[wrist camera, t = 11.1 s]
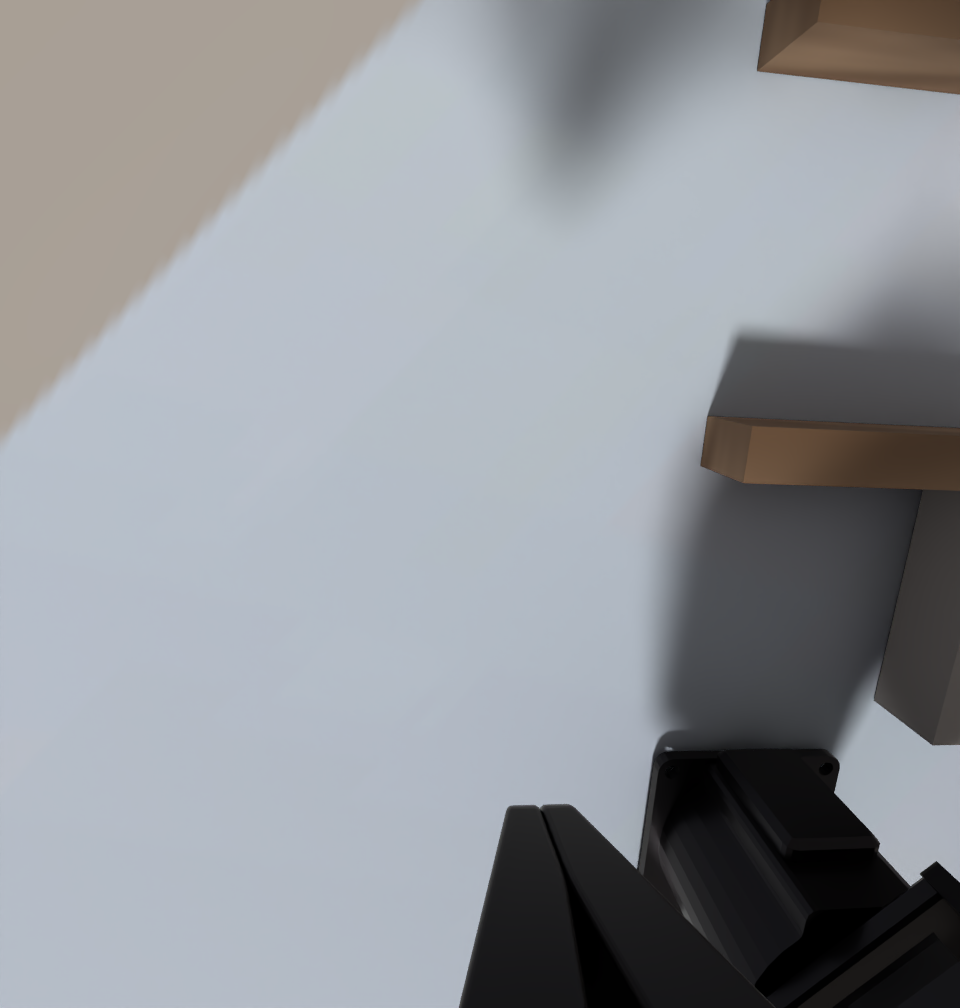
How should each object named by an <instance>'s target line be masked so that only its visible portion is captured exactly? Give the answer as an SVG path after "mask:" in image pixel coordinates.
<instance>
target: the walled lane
mask: <svg viewBox="0 0 960 1008" xmlns="http://www.w3.org/2000/svg"><path fill="white" fill-rule="evenodd" d="M757 71H760V72H769V73H778V74H787V75H795V76H804V77H813V78H821V79H830V80H839V81H848V82H856V83H865V84H874V85H882V86H891V87H900V88H909V89H917V90H926V91H935V92H943V93H952V94H960V0H771V1H770V2H769V3H768V4H767V6H766V13H765V20H764V27H763V34H762V41H761V48H760V55H759V62H758V69H757ZM701 466H702V467H705V468H707V469H710V470H712V471H714V472H717V473H719V474H722V475H724V476H727V477H729V478H732V479H734V480H737V481H739V482H742V483H752V484H780V485H809V486H838V487H866V488H895V489H923V490H952V491H960V428H947V427H926V426H905V425H884V424H863V423H842V422H821V421H800V420H779V419H758V418H737V417H716V416H708V418H707V425H706V432H705V439H704V446H703V453H702V460H701Z"/></svg>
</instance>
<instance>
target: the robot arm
mask: <svg viewBox="0 0 960 1008" xmlns="http://www.w3.org/2000/svg"><path fill="white" fill-rule="evenodd" d="M822 764H824V765H823V766H821V765H822ZM673 765H674V768H672V769H671V770H668V771H666V769H667V768H668V767H669V766H673ZM820 766H821V767H820ZM839 769H840V764H839V762H838V760H837V759H836V758H835V757H834V756H833V755H832V754H831V753H830V752H829V751H827V750H825V749H735V750H724V751H669V752H664V753H662V754H661V755H659V756H658V757H657V758H656V760H655V762H654V765H653V772H652V780H651V787H650V794H649V801H648V808H647V815H646V822H645V829H644V836H643V843H642V850H641V857H640V865H639V871H638V870H637V869H636V868H635V867H634V866H633V865H632V864H631V863H630V862H629V861H628V860H627V859H626V858H625V857H624V856H623V855H622V854H621V853H620V852H619V851H618V850H617V849H616V848H615V847H614V846H613V845H612V844H611V843H610V842H609V841H608V840H607V839H606V838H605V837H604V836H603V835H602V834H601V833H600V832H599V831H598V830H597V829H596V828H595V827H594V826H593V825H592V824H591V823H590V822H589V821H588V820H587V819H586V818H585V817H584V816H583V815H582V814H581V813H580V812H579V811H578V810H577V809H576V808H575V807H573V806H571V805H569V804H551V805H543V806H542V807H541V808H540V809H539V807H537V806H536V805H513V806H509V807H508V808H507V810H506V814H505V818H504V822H503V826H502V830H501V835H500V839H499V843H498V847H497V851H496V855H495V859H494V864H493V868H492V872H491V876H490V880H489V884H488V889H487V893H486V897H485V901H484V905H483V909H482V913H481V918H480V922H479V926H478V930H477V934H476V938H475V942H474V947H473V951H472V955H471V959H470V963H469V967H468V972H467V976H466V980H465V984H464V988H463V992H462V996H461V1001H460V1005H459V1008H960V882H958V881H957V880H956V879H955V878H954V877H953V876H952V875H951V874H950V873H949V872H948V871H947V870H946V869H944V868H943V867H942V866H941V865H940V864H939V863H938V862H937V861H936V862H934V863H933V864H932V865H931V866H929V867H928V868H927V869H925V870H924V871H923V872H921V873H920V875H921V876H922V878H921V879H920V880H918V881H917V882H916V883H914V884H913V885H912V886H910V885H909V884H908V883H907V882H906V881H905V880H904V879H903V878H902V877H901V876H900V874H899V873H898V872H897V871H896V870H895V869H894V868H893V867H892V866H891V865H890V864H889V863H888V861H887V860H886V859H885V858H884V857H883V856H882V855H881V854H880V853H879V852H878V849H879V845H880V843H879V841H878V839H877V838H876V837H875V836H874V835H873V834H872V833H871V831H870V830H869V829H868V828H867V827H866V826H865V825H864V824H863V823H862V822H861V821H860V820H859V819H858V818H857V817H856V816H855V815H854V813H853V812H852V811H851V810H850V809H849V808H848V807H847V806H846V805H845V804H844V803H843V802H842V801H841V800H840V799H839V798H838V797H837V795H836V794H835V793H834V791H835V787H836V782H837V778H838V773H839Z"/></svg>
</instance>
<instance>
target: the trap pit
mask: <svg viewBox="0 0 960 1008" xmlns="http://www.w3.org/2000/svg"><path fill="white" fill-rule="evenodd" d="M874 701H875V702H877V703H878V704H879V705H881V706H882V707H883V708H884V709H886V710H887V711H888V712H890V713H891V714H892V715H894V716H895V717H896V718H898V719H899V720H900V721H901V722H903V723H904V724H905V725H907V726H908V727H909V728H911V729H912V730H913V731H915V732H916V733H917V734H919V735H920V736H921V737H922V738H924V739H925V740H926V741H928V742H929V743H930V744H932V745H960V491H952V490H923V492H922V497H921V501H920V505H919V509H918V514H917V518H916V522H915V527H914V531H913V535H912V539H911V544H910V548H909V552H908V557H907V561H906V565H905V570H904V574H903V578H902V582H901V587H900V591H899V595H898V600H897V604H896V608H895V612H894V617H893V621H892V625H891V630H890V634H889V638H888V642H887V647H886V651H885V655H884V660H883V664H882V668H881V673H880V677H879V681H878V685H877V690H876V694H875V698H874Z"/></svg>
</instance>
